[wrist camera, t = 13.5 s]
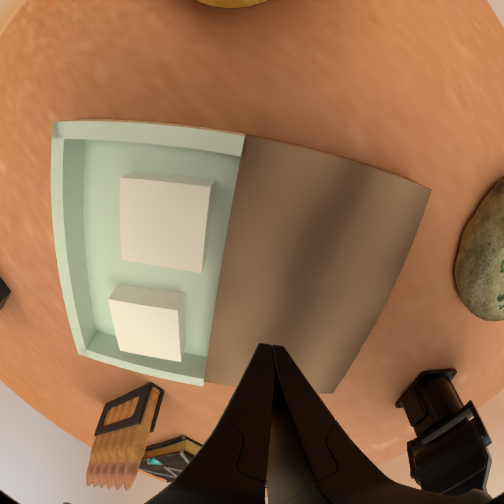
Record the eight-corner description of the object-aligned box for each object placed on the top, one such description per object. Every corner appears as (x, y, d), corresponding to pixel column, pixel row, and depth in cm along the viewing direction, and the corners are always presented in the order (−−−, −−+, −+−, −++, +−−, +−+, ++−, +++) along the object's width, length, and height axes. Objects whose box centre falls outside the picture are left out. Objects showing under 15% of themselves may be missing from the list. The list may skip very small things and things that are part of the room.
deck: (411, 179, 16) (431, 189, 14) (327, 372, 24) (332, 393, 21) (246, 133, 15) (245, 135, 13) (207, 359, 23) (203, 381, 20)
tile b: (215, 179, 16) (210, 187, 14) (206, 257, 18) (201, 273, 16) (134, 170, 15) (120, 177, 13) (133, 245, 17) (121, 259, 16)
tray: (246, 133, 15) (244, 136, 12) (207, 359, 23) (203, 386, 20) (80, 119, 14) (53, 121, 11) (91, 331, 22) (78, 353, 19)
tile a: (184, 292, 19) (177, 310, 17) (185, 343, 21) (181, 361, 19) (118, 283, 19) (107, 299, 17) (127, 333, 21) (119, 350, 19)
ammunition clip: (151, 381, 25) (122, 486, 14) (165, 391, 25) (141, 494, 14) (105, 403, 28) (77, 481, 17) (116, 411, 28) (92, 489, 17)
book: (126, 448, 35) (120, 471, 31) (182, 430, 30) (177, 462, 26) (220, 484, 42) (219, 504, 38) (286, 469, 37) (288, 493, 32)
